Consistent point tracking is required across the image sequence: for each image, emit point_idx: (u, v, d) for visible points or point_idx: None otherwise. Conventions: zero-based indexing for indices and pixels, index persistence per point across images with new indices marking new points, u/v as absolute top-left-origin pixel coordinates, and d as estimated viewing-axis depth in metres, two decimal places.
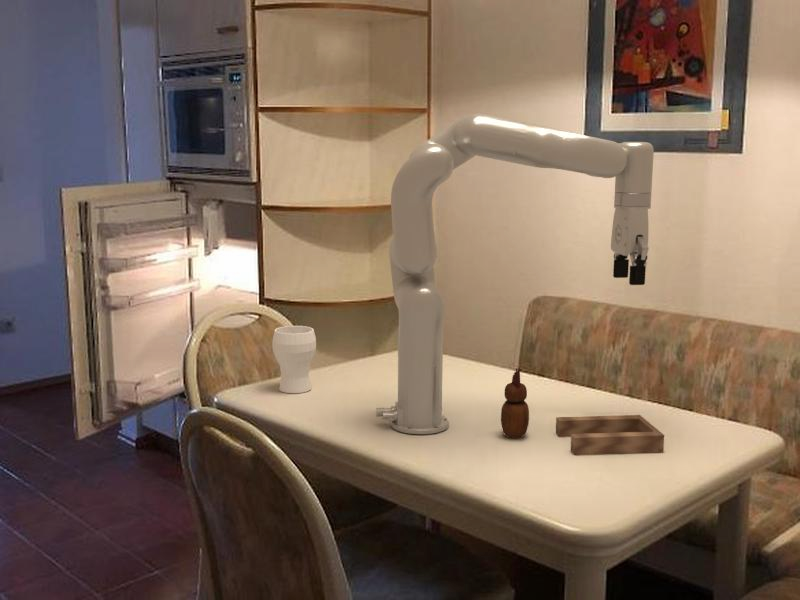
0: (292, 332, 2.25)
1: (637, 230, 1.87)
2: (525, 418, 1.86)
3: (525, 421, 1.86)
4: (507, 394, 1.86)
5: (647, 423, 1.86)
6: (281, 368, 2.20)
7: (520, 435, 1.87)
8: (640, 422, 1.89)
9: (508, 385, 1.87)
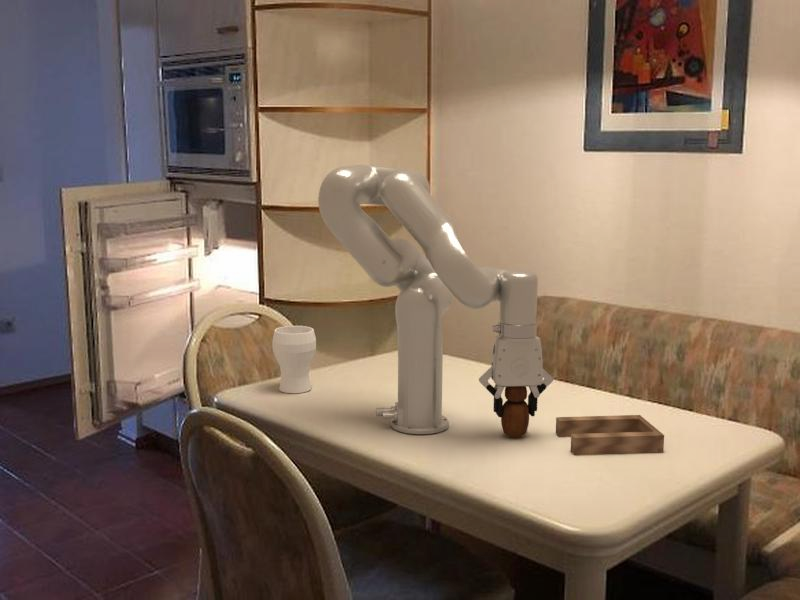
0: (292, 332, 2.25)
1: None
2: (525, 418, 1.86)
3: (525, 421, 1.86)
4: (507, 394, 1.86)
5: (647, 423, 1.86)
6: (281, 368, 2.20)
7: (520, 435, 1.87)
8: (640, 422, 1.89)
9: None
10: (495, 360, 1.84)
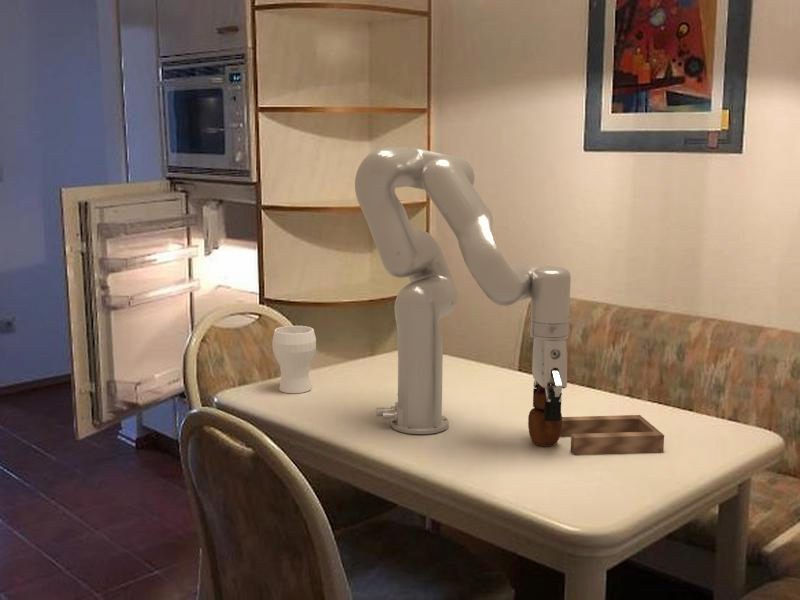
0: (292, 332, 2.25)
1: None
2: None
3: None
4: None
5: (647, 423, 1.86)
6: (281, 368, 2.20)
7: None
8: (640, 422, 1.89)
9: None
10: (564, 363, 1.76)
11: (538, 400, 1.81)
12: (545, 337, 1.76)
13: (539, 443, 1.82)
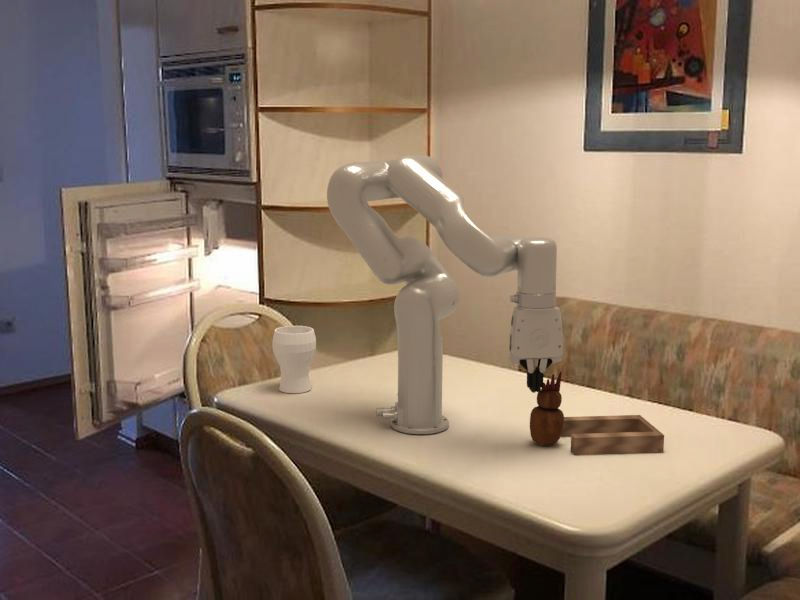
0: (292, 332, 2.25)
1: None
2: None
3: None
4: (558, 402, 1.81)
5: (647, 423, 1.86)
6: (281, 368, 2.20)
7: None
8: (640, 422, 1.89)
9: (553, 393, 1.81)
10: (513, 331, 1.77)
11: (541, 399, 1.81)
12: None
13: (539, 442, 1.82)
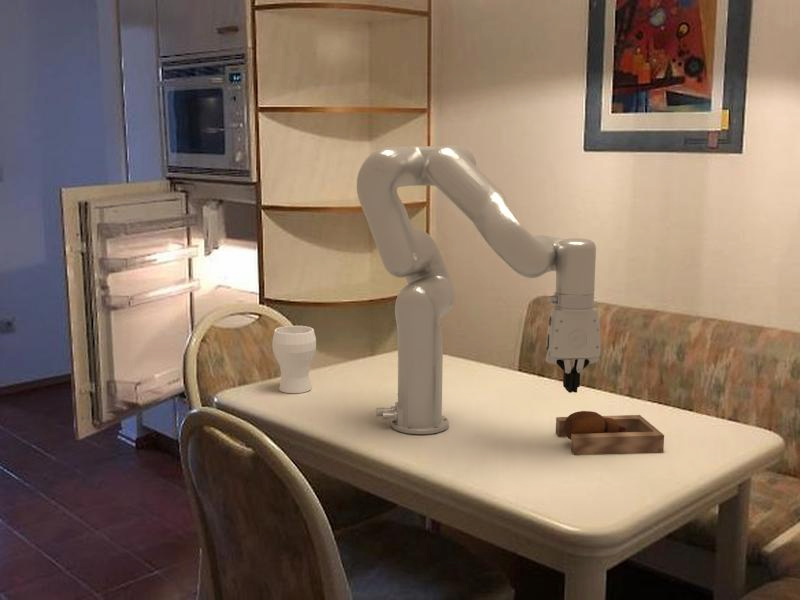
0: (292, 332, 2.25)
1: None
2: None
3: None
4: None
5: (647, 423, 1.86)
6: (281, 368, 2.20)
7: None
8: (640, 422, 1.89)
9: None
10: (552, 332, 1.78)
11: (615, 431, 1.83)
12: (555, 304, 1.81)
13: (578, 431, 1.80)
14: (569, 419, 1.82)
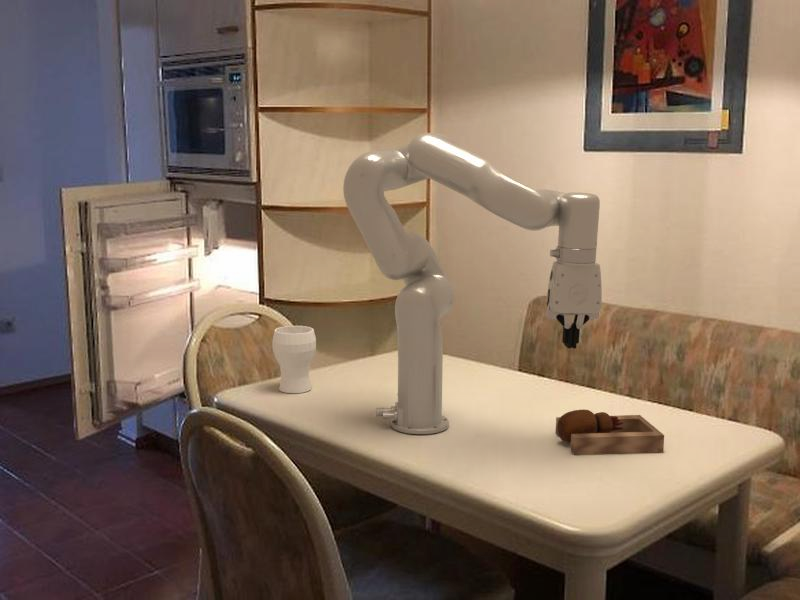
0: (292, 332, 2.25)
1: None
2: None
3: None
4: None
5: (647, 423, 1.86)
6: (281, 368, 2.20)
7: None
8: (640, 422, 1.89)
9: (611, 429, 1.85)
10: (553, 286, 1.76)
11: (607, 420, 1.84)
12: None
13: (570, 427, 1.81)
14: (559, 422, 1.84)
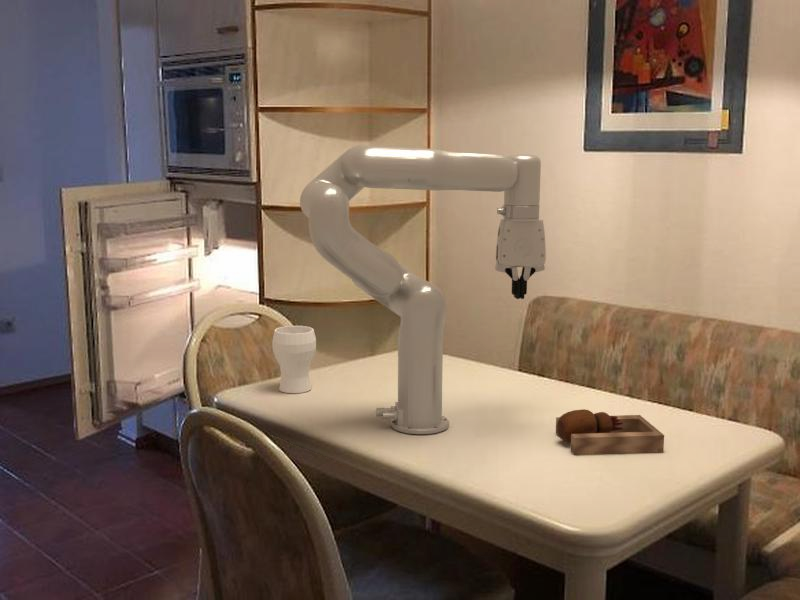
0: (292, 332, 2.25)
1: None
2: None
3: None
4: None
5: (647, 423, 1.86)
6: (281, 368, 2.20)
7: None
8: (640, 422, 1.89)
9: None
10: (500, 241, 1.92)
11: (607, 420, 1.84)
12: None
13: (570, 427, 1.81)
14: (559, 422, 1.84)
